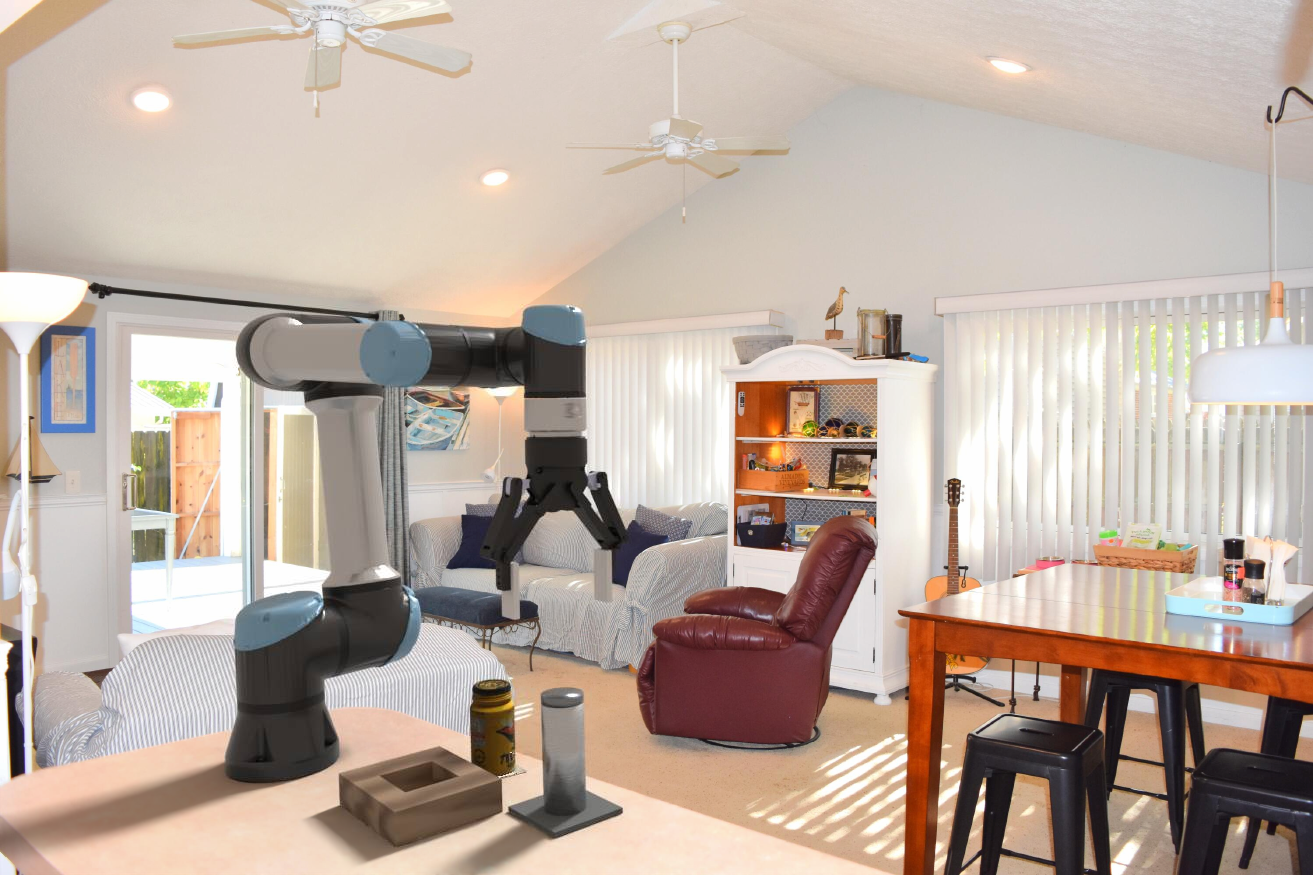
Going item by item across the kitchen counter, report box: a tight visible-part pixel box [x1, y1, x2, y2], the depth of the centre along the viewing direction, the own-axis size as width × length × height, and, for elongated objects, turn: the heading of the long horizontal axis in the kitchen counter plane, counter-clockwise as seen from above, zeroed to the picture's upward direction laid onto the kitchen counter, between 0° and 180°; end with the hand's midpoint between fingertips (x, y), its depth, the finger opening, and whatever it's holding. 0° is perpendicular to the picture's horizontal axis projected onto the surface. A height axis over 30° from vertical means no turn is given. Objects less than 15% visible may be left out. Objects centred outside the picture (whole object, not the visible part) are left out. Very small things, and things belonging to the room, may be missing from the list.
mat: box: [507, 789, 624, 839], centre depth 116 cm, size 10×10×1 cm
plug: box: [540, 686, 587, 816], centre depth 116 cm, size 5×5×14 cm
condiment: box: [469, 678, 527, 777], centre depth 130 cm, size 7×8×12 cm
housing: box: [338, 745, 504, 848], centre depth 118 cm, size 16×14×4 cm
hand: (558, 609), depth 116 cm, fingers open, 13 cm apart
